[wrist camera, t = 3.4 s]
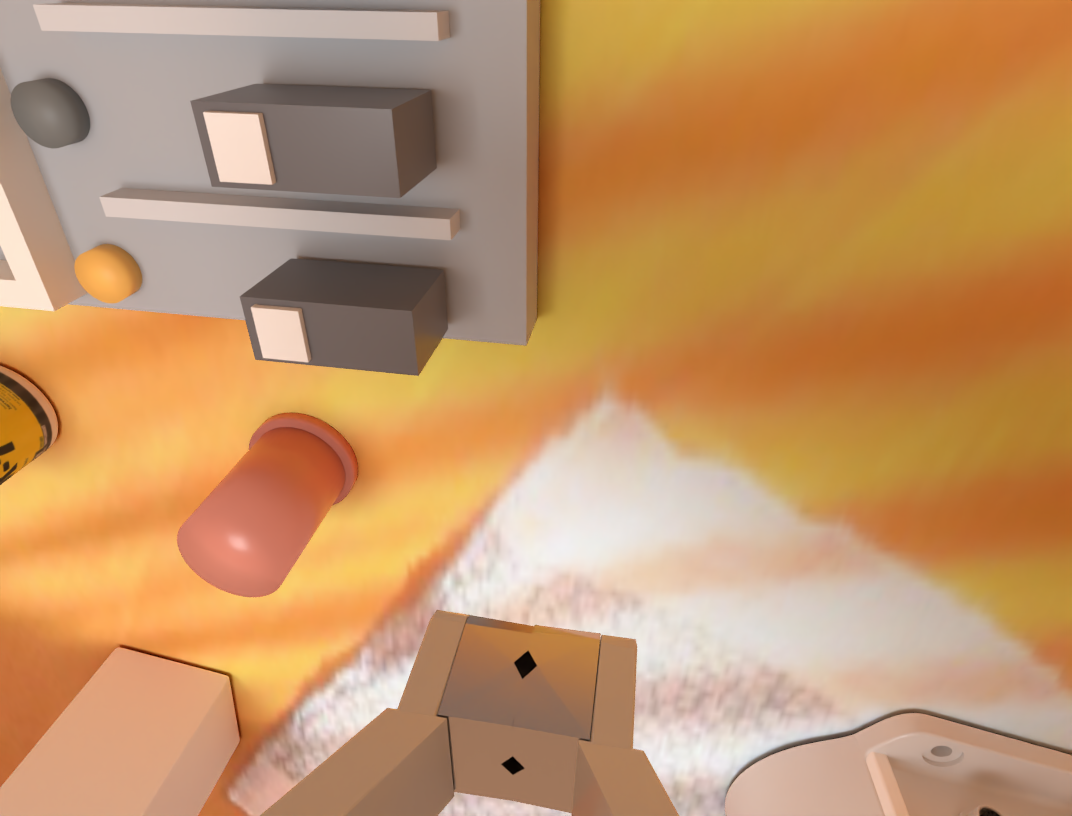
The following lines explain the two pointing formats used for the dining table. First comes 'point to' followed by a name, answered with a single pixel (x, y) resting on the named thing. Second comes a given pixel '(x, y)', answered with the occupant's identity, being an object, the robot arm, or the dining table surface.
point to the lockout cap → (268, 505)
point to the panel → (249, 214)
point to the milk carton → (130, 744)
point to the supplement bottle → (23, 423)
